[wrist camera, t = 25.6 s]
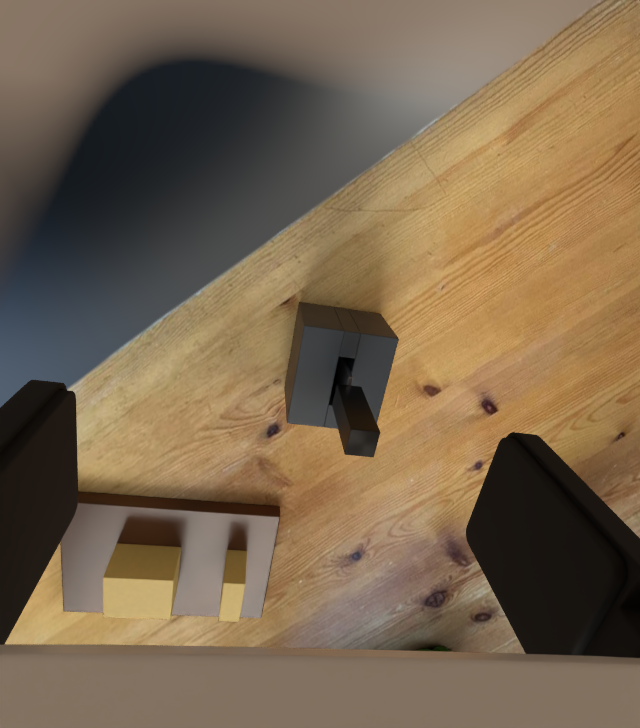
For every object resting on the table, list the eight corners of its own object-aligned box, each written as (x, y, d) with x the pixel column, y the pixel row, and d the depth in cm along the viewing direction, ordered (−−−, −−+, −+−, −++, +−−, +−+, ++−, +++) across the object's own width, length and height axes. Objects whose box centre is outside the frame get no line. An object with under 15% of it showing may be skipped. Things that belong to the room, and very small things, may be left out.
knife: (318, 367, 40) (342, 463, 28) (325, 335, 39) (352, 419, 27) (338, 370, 41) (371, 465, 28) (345, 338, 40) (382, 423, 27)
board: (69, 598, 48) (63, 611, 47) (64, 490, 43) (58, 501, 41) (261, 606, 51) (261, 618, 50) (279, 506, 46) (280, 516, 45)
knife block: (284, 388, 41) (286, 423, 35) (298, 301, 38) (304, 325, 32) (360, 397, 42) (374, 432, 37) (380, 313, 39) (399, 338, 34)
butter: (115, 581, 46) (102, 617, 42) (116, 542, 44) (102, 577, 40) (178, 584, 47) (170, 619, 43) (181, 546, 45) (173, 580, 41)
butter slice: (221, 586, 48) (218, 621, 44) (226, 549, 46) (223, 583, 42) (241, 587, 48) (239, 622, 44) (247, 550, 46) (245, 584, 42)
